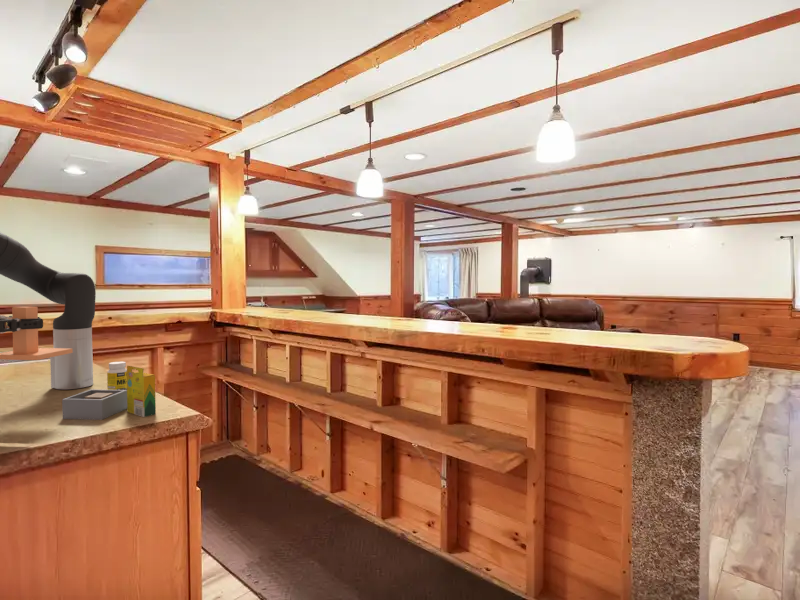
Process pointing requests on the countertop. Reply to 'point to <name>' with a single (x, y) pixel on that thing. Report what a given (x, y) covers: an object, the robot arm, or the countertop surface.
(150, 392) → the crayon box
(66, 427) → the countertop surface
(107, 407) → the tub
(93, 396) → the walnut block
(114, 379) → the supplement bottle
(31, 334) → the lid
